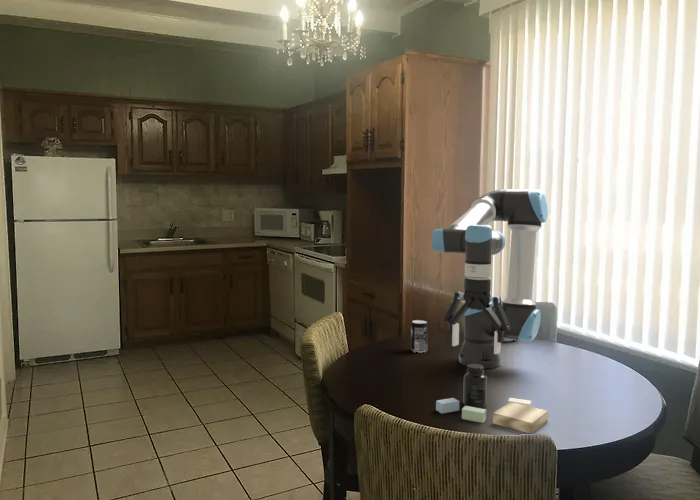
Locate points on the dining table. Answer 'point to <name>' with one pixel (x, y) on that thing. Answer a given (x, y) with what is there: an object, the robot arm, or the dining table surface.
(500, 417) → the maple block
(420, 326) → the beverage can
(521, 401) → the cream brick
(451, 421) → the dining table surface
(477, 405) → the supplement bottle
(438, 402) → the dusty blue brick
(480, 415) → the sage brick
